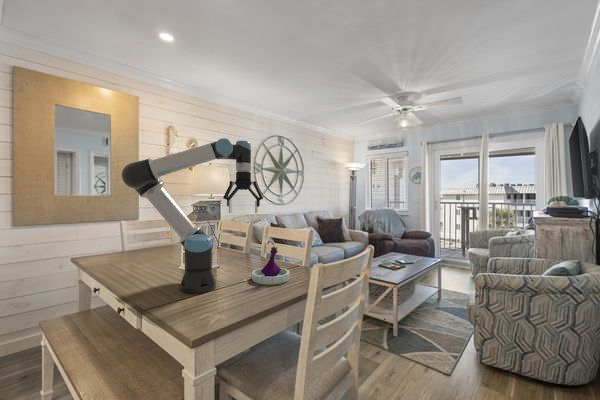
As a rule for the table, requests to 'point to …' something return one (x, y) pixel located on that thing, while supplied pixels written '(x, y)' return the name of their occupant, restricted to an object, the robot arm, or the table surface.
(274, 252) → the perfume bottle
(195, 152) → the robot arm
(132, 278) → the table surface
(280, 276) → the round tray
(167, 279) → the table surface
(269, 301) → the table surface
